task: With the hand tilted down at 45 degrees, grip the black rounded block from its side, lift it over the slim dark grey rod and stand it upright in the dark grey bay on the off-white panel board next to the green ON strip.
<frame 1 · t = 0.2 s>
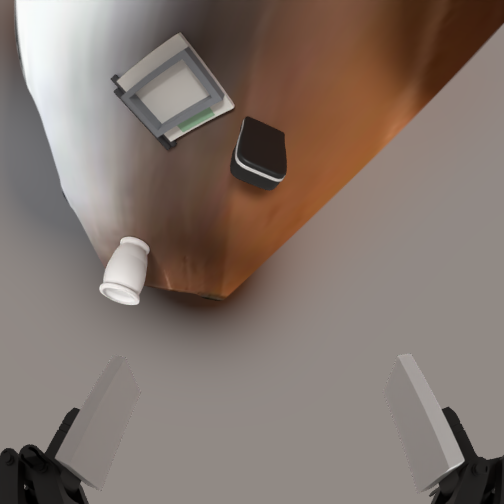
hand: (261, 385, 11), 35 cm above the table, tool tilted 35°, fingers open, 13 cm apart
jar: (135, 244, 67), on the table
slim dark grey rod: (142, 111, 35), on the table
black rounded block: (260, 131, 39), on the table
panel board: (174, 88, 33), on the table
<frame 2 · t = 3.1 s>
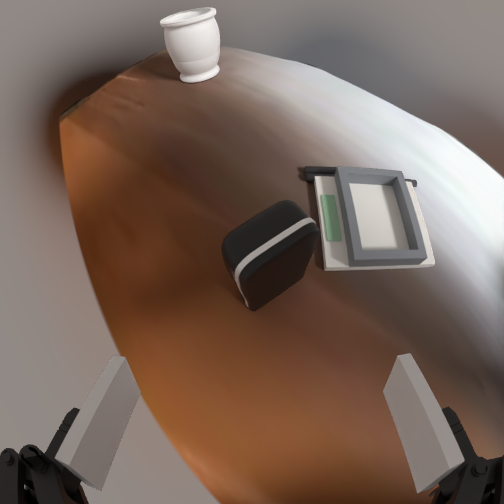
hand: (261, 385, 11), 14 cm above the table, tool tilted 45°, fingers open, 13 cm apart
jar: (200, 74, 47), on the table
slim dark grey rod: (363, 178, 33), on the table
black rounded block: (268, 281, 28), on the table
panel board: (374, 222, 30), on the table
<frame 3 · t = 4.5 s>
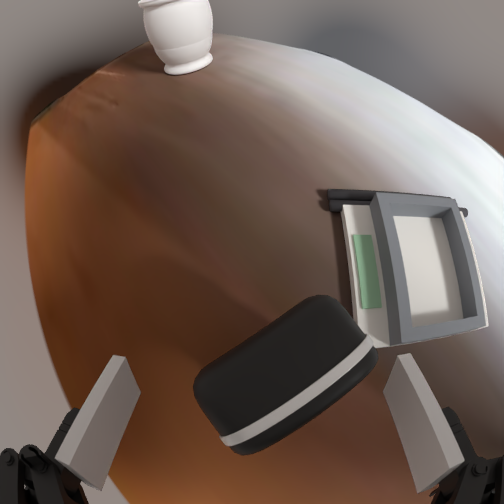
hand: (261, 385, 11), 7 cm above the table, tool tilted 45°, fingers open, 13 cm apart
jar: (188, 65, 37), on the table
slim dark grey rod: (404, 206, 23), on the table
black rounded block: (275, 368, 18), on the table
panel board: (420, 272, 20), on the table
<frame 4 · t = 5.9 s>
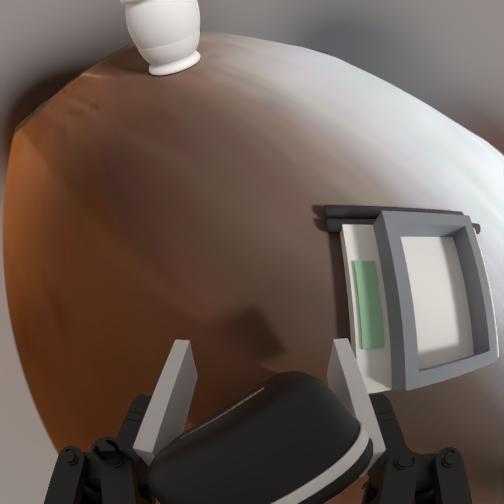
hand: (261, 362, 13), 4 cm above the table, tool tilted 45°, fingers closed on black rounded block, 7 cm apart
jar: (175, 65, 34), on the table
slim dark grey rod: (412, 223, 20), on the table
black rounded block: (259, 414, 15), on the table, touching gripper
panel board: (429, 301, 17), on the table
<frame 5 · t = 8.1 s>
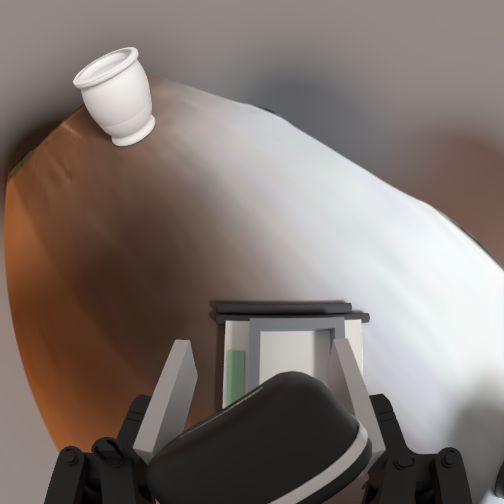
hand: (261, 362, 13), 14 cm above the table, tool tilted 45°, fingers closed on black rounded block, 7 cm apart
jar: (134, 131, 41), on the table
slim dark grey rod: (294, 315, 28), on the table
black rounded block: (259, 413, 15), point 10 cm above the table, touching gripper
panel board: (294, 379, 25), on the table
when the fingers open (6 cm above the table, at t = 10.3 s): black rounded block drops 1 cm, resting on panel board.
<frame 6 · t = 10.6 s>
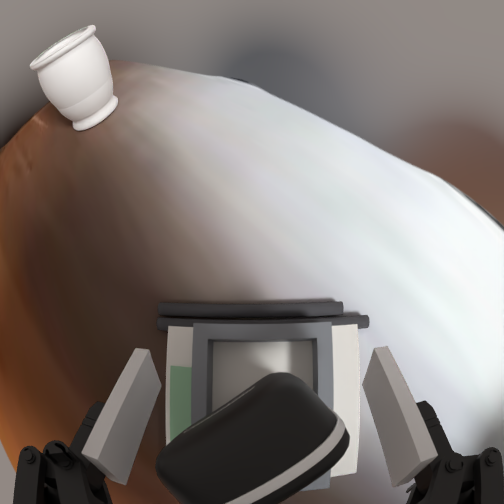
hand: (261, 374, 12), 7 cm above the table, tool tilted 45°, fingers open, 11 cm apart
jar: (96, 114, 34), on the table
slim dark grey rod: (262, 319, 20), on the table
black rounded block: (255, 410, 16), point 1 cm above the table, touching panel board
panel board: (262, 408, 17), on the table
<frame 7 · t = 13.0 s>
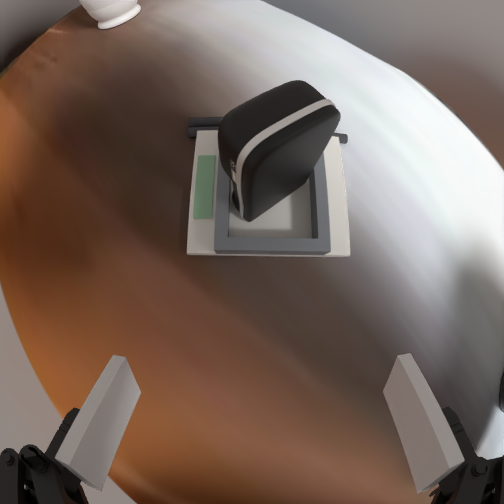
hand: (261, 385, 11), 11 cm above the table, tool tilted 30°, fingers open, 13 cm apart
jar: (119, 18, 29), on the table
slim dark grey rod: (268, 130, 25), on the table
black rounded block: (264, 188, 24), point 1 cm above the table, touching panel board
panel board: (269, 190, 24), on the table
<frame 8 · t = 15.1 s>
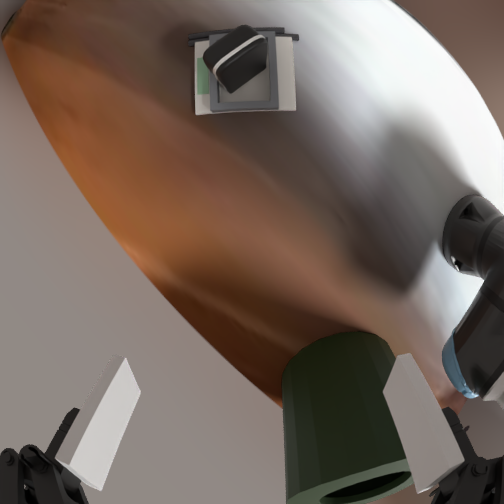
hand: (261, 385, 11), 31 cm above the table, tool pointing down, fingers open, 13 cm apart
flower pot: (339, 375, 52), on the table
slim dark grey rod: (243, 35, 30), on the table
black rounded block: (240, 72, 32), point 1 cm above the table, touching panel board
panel board: (244, 73, 32), on the table
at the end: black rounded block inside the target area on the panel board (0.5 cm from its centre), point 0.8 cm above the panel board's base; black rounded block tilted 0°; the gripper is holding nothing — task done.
